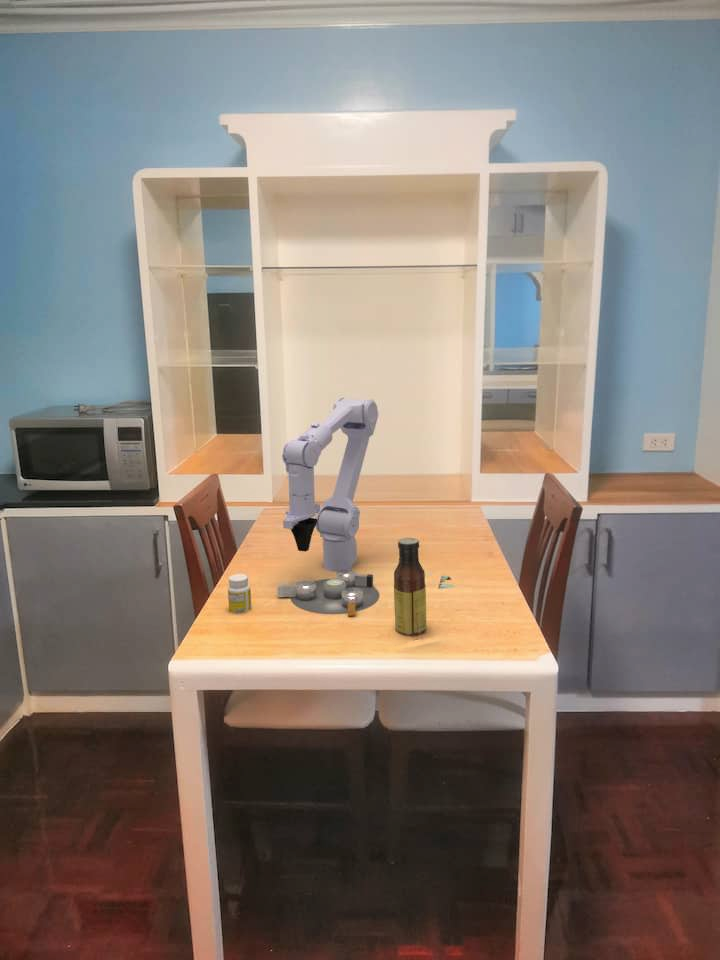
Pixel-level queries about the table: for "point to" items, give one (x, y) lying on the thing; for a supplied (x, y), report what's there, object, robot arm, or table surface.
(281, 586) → the silver metal rounded piece
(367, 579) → the knob black
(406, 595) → the sauce bottle
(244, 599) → the supplement bottle
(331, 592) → the tribrach plate
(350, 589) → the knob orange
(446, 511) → the table surface
